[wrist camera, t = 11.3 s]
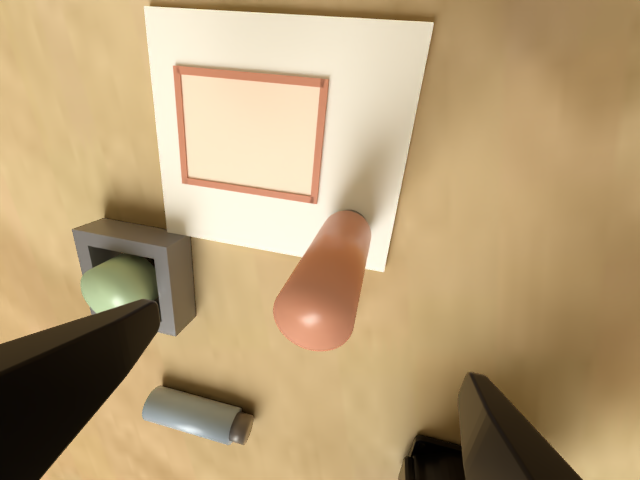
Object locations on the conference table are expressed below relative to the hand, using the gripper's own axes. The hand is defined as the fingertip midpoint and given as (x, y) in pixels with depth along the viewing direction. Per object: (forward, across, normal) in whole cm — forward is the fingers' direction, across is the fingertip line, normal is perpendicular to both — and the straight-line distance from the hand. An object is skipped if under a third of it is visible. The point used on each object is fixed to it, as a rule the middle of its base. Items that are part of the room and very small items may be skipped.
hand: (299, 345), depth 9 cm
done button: (+10, +14, +6) cm, 18 cm away
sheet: (+11, +5, -4) cm, 13 cm away
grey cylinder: (+10, +10, +21) cm, 25 cm away
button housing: (+11, +14, +6) cm, 19 cm away
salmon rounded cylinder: (+11, 0, 0) cm, 11 cm away
